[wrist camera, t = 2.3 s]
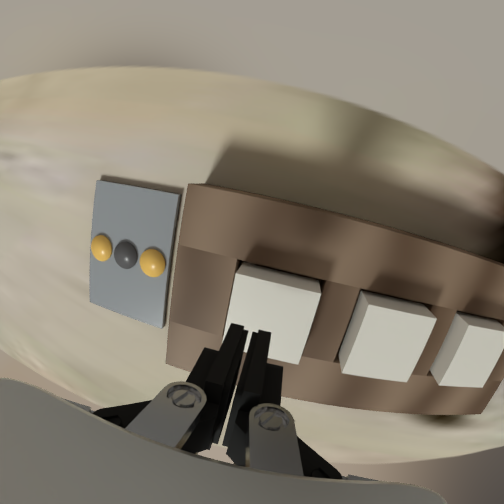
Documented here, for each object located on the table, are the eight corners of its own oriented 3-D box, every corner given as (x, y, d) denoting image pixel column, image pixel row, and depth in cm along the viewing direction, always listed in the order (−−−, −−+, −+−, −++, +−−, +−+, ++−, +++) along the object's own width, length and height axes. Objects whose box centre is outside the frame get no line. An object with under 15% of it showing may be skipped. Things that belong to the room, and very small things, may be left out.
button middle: (423, 304, 16) (437, 318, 14) (397, 363, 17) (406, 382, 15) (360, 290, 16) (368, 304, 14) (338, 353, 17) (341, 373, 15)
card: (181, 194, 19) (177, 195, 19) (164, 326, 22) (160, 329, 21) (99, 180, 20) (95, 180, 19) (92, 300, 22) (88, 302, 22)
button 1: (495, 319, 15) (511, 332, 13) (470, 371, 16) (482, 387, 14) (454, 310, 16) (468, 325, 14) (428, 367, 17) (438, 385, 15)
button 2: (318, 280, 17) (321, 293, 15) (299, 345, 18) (298, 364, 16) (243, 262, 17) (235, 273, 15) (230, 328, 18) (221, 345, 16)
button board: (524, 271, 16) (545, 282, 13) (468, 394, 19) (480, 413, 16) (204, 183, 19) (188, 183, 16) (181, 343, 22) (165, 363, 19)
